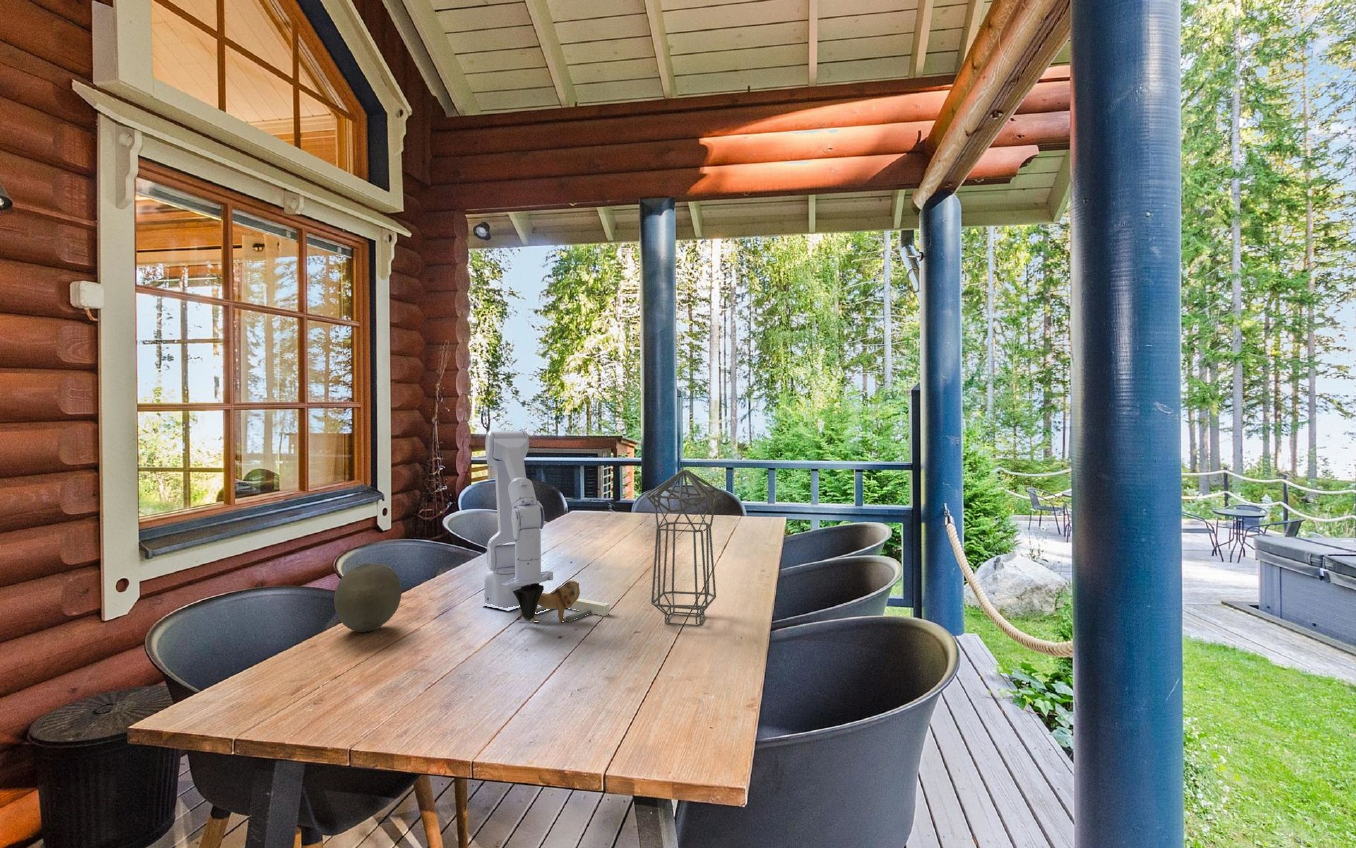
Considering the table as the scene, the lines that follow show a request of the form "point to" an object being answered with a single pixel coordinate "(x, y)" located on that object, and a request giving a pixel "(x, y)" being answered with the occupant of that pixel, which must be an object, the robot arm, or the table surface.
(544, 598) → the lion figurine
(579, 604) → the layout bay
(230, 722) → the table surface
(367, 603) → the cantaloupe
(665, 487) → the geometric lantern
